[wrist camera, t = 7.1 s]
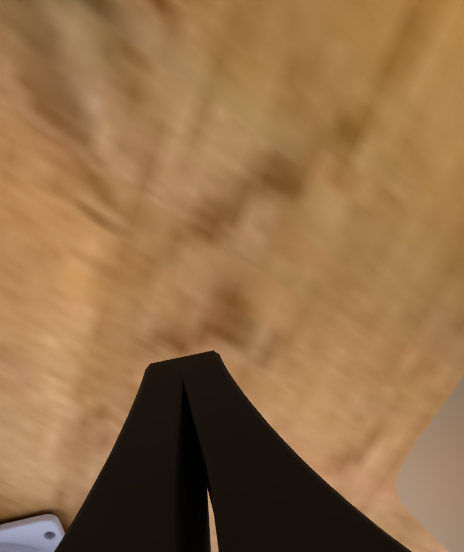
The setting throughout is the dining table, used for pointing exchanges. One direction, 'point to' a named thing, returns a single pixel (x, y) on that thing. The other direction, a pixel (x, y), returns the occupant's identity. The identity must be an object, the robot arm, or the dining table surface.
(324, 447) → the dining table surface
